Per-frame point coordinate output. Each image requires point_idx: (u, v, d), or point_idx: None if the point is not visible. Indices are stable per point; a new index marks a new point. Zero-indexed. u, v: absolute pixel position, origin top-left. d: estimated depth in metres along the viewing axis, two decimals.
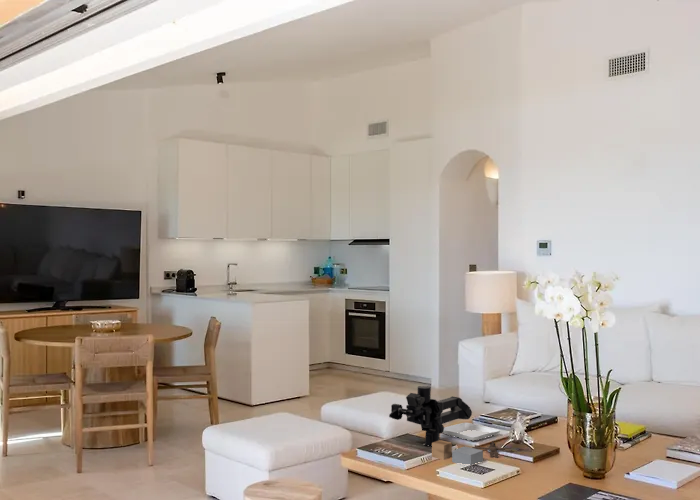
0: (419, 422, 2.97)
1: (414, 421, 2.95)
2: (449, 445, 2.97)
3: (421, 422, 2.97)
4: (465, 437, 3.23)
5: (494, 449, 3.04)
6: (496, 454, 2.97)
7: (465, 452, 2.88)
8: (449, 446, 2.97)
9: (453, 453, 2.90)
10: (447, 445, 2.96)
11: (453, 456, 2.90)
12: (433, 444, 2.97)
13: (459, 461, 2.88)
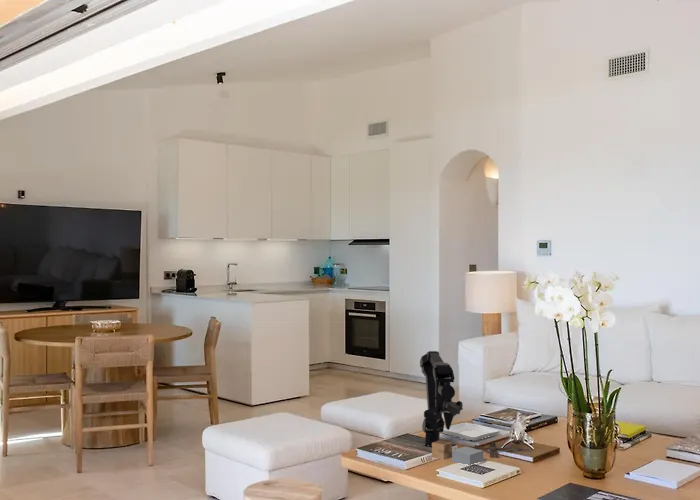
0: None
1: None
2: (449, 445, 2.97)
3: None
4: (465, 437, 3.23)
5: (494, 449, 3.04)
6: (496, 454, 2.97)
7: (465, 452, 2.88)
8: (449, 446, 2.97)
9: (453, 453, 2.90)
10: (447, 445, 2.96)
11: (453, 456, 2.90)
12: (433, 444, 2.97)
13: (458, 461, 2.88)
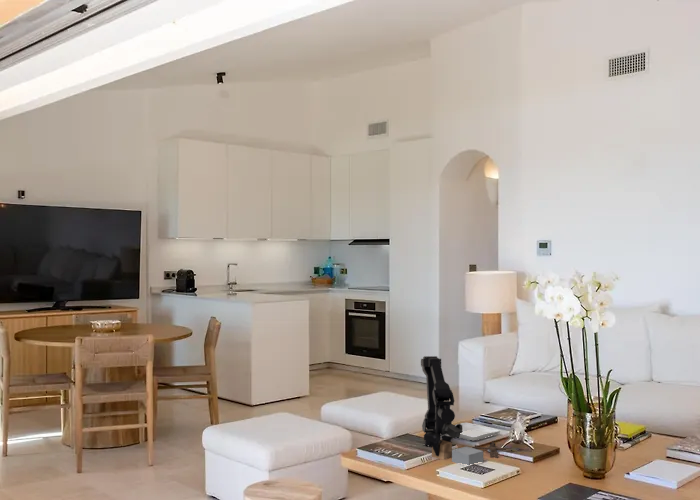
0: None
1: None
2: (449, 445, 2.97)
3: None
4: (465, 437, 3.23)
5: (494, 449, 3.04)
6: (496, 454, 2.97)
7: (464, 452, 2.88)
8: (449, 446, 2.97)
9: (453, 452, 2.91)
10: (447, 445, 2.96)
11: (453, 455, 2.91)
12: None
13: (458, 461, 2.89)
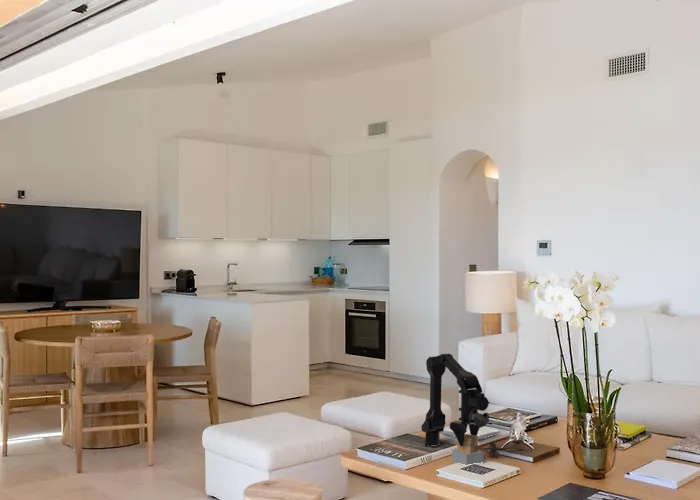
0: None
1: None
2: (475, 438, 2.90)
3: None
4: None
5: (494, 449, 3.04)
6: (496, 454, 2.97)
7: (463, 452, 2.88)
8: (475, 440, 2.89)
9: (452, 452, 2.92)
10: (473, 438, 2.88)
11: (452, 455, 2.92)
12: None
13: (457, 460, 2.89)
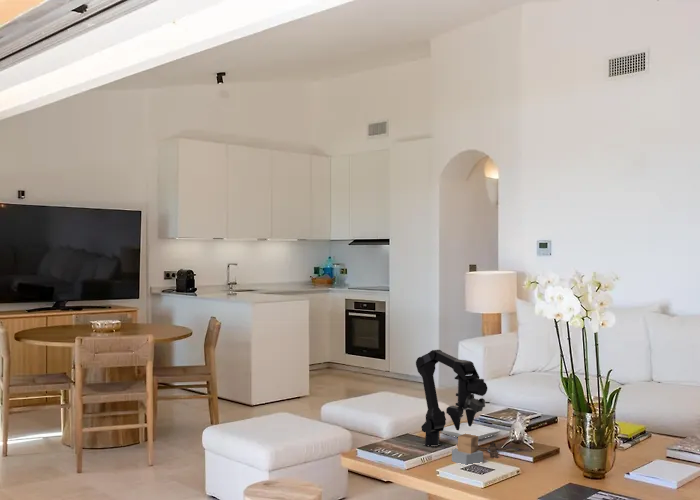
0: None
1: None
2: (476, 438, 2.90)
3: None
4: None
5: (494, 449, 3.04)
6: (496, 454, 2.97)
7: (463, 452, 2.88)
8: (475, 440, 2.90)
9: (452, 452, 2.92)
10: (474, 438, 2.89)
11: (452, 455, 2.92)
12: (459, 437, 2.90)
13: (457, 460, 2.89)
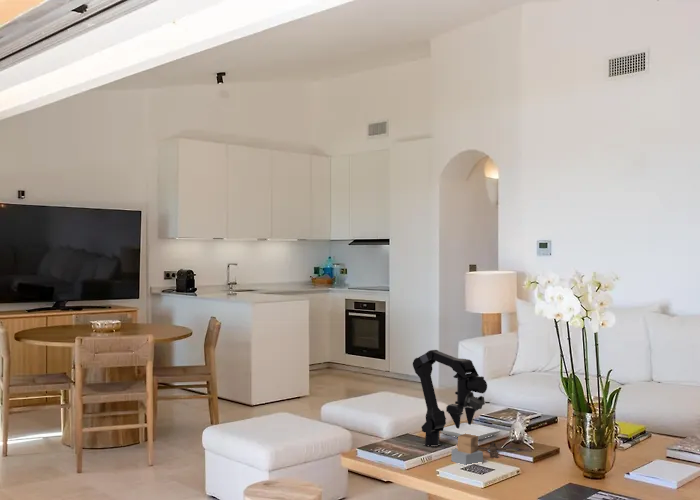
0: None
1: None
2: (475, 438, 2.90)
3: None
4: None
5: (494, 449, 3.04)
6: (496, 454, 2.97)
7: (463, 452, 2.88)
8: (475, 440, 2.90)
9: (452, 452, 2.92)
10: (474, 438, 2.89)
11: (452, 455, 2.92)
12: (459, 437, 2.90)
13: (457, 460, 2.89)
